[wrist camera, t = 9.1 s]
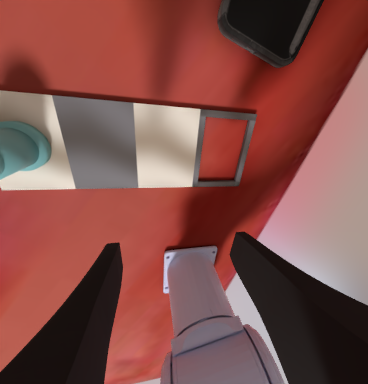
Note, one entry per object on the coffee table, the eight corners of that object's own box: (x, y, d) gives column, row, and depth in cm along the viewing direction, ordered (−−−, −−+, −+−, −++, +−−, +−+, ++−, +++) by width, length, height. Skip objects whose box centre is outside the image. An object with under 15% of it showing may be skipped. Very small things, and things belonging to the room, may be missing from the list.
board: (237, 184, 20) (238, 186, 19) (5, 188, 15) (2, 190, 14) (254, 114, 16) (257, 114, 16) (-44, 86, 11) (-50, 85, 11)
